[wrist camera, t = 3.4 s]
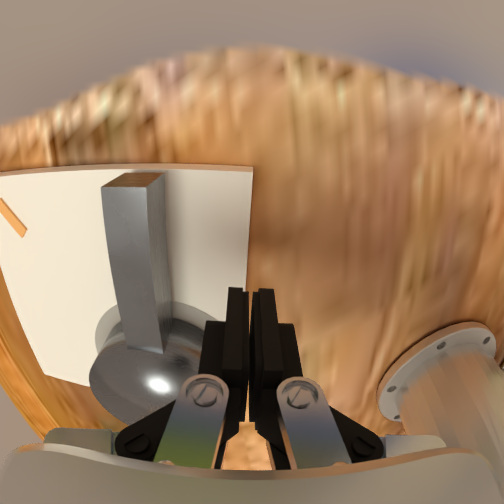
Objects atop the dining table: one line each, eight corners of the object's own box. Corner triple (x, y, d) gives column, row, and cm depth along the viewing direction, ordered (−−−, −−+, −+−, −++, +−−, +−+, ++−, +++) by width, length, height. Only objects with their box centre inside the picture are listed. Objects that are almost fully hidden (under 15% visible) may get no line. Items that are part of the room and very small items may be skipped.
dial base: (263, 167, 16) (263, 174, 14) (244, 398, 24) (243, 414, 22) (-5, 172, 15) (-20, 179, 14) (52, 366, 23) (45, 379, 22)
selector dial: (231, 408, 22) (228, 444, 19) (121, 393, 22) (109, 426, 18) (242, 173, 14) (237, 192, 11) (71, 172, 14) (33, 190, 11)
